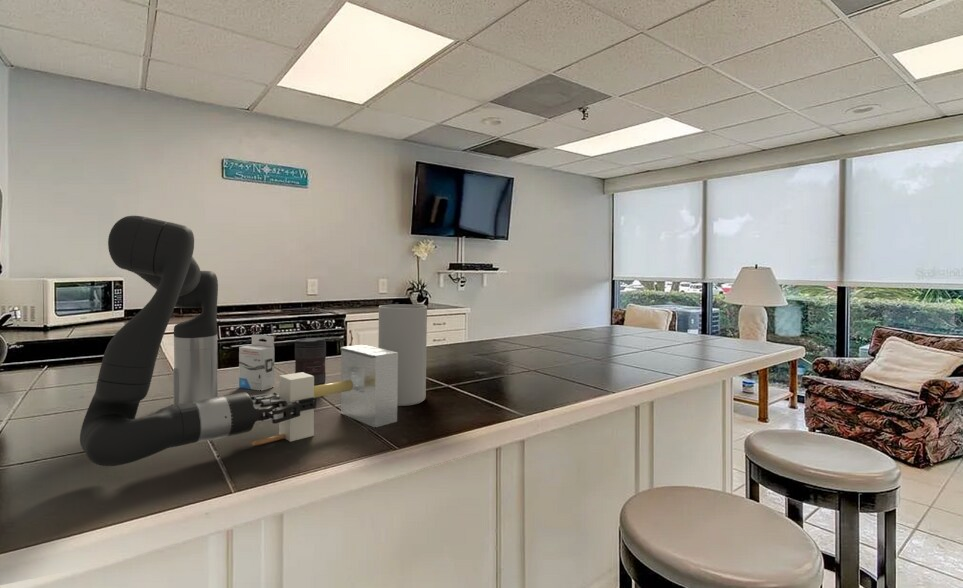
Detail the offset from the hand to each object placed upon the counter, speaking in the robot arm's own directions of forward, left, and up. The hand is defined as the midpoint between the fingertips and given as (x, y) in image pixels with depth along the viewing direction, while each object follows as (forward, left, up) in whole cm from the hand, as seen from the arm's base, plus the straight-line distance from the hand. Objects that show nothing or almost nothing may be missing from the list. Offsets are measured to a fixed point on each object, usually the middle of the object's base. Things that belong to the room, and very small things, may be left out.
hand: (308, 399), depth 101 cm
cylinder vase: (+26, +16, -7) cm, 31 cm away
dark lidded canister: (+5, +32, -7) cm, 33 cm away
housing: (+14, +5, -7) cm, 16 cm away
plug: (-1, 0, -7) cm, 7 cm away
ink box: (-8, +44, -7) cm, 45 cm away
